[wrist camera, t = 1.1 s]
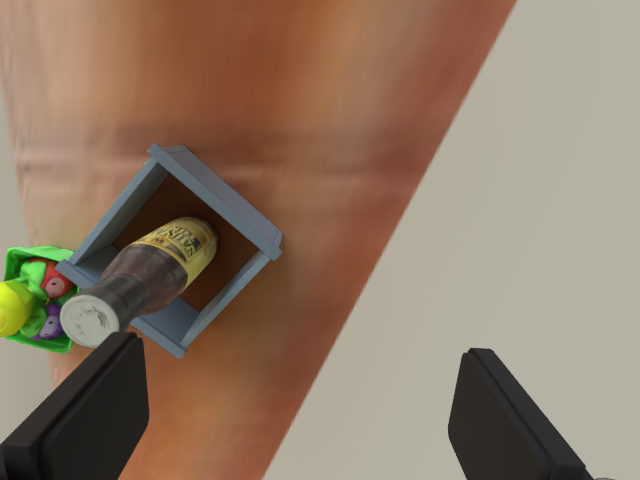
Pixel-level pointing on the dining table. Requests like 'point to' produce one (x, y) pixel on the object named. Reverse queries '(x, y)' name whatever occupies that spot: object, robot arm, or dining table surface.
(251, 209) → the blue wooden frame
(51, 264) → the fruit basket
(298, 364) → the dining table surface
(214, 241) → the sauce bottle
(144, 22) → the dining table surface
